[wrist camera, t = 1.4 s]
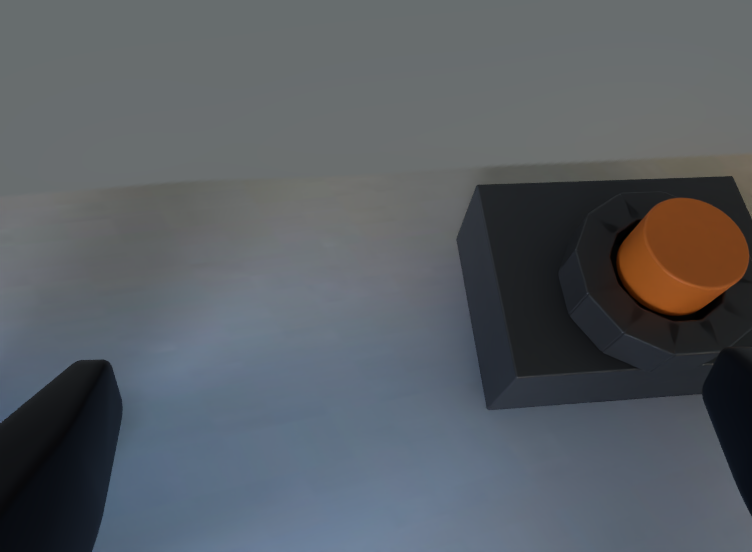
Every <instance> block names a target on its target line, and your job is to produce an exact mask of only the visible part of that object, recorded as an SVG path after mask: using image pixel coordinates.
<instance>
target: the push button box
mask: <svg viewBox="0 0 752 552" xmlns="http://www.w3.org/2000/svg"><path fill="white" fill-rule="evenodd" d="M672 198H692V199H696V200H700V201H703V202H706V203H708V204H710V205H712V206H714V207H716V208H718V209H719V210H721V211H722V212H724V213H725V214H726V215H727V216H729V217H730V218H731V219H732V220H733V221H734V222H735V224H736V225H737V226H738V227H739V229H740V230H741V232H742V233H743V235H744V237H745V239H746V242H747V245H748V249H749V263H748V267H747V270H746V272H745V274H744V275H743V277H742V278H741V279H740V280H739V281H738V282H737V283H736V284H734V285H733V286H732V287H730V288H729V289H727V290H726V291H725V292H723V293H722V294H721V295H719V296H718V297H717V298H715V299H714V300H713V301H711V302H710V303H708V304H707V305H706V306H704V307H703V308H702V309H700V310H699V311H697V312H695V313H692V314H689V315H684V316H669V315H664V314H660V313H657V312H654V311H652V310H650V309H648V308H646V307H645V306H643V305H641V304H640V303H639V302H637V301H636V300H635V299H634V298H633V297H632V296H631V295H630V294H629V293H628V292H627V290H626V289H625V287H624V286H623V284H622V282H621V280H620V278H619V275H618V272H617V266H616V258H617V252H618V249H619V247H620V245H621V244H622V242H623V241H624V240H625V239H626V238H627V236H628V235H629V234H630V233H631V232H632V231H633V230H634V228H635V227H636V226H637V225H638V224H639V223H640V221H641V220H642V219H643V218H644V217H645V216H646V214H647V213H648V212H649V211H650V210H651V209H652V208H653V207H654V206H655V205H657V204H658V203H660V202H663V201H665V200H668V199H672ZM457 244H458V250H459V255H460V261H461V267H462V272H463V278H464V283H465V289H466V294H467V300H468V306H469V311H470V317H471V322H472V328H473V333H474V339H475V345H476V350H477V356H478V361H479V367H480V372H481V378H482V384H483V389H484V395H485V400H486V406H487V409H488V410H495V409H508V408H521V407H534V406H547V405H561V404H574V403H587V402H600V401H613V400H627V399H640V398H653V397H666V396H679V395H693V394H702V388H703V384H704V382H705V380H706V378H707V376H708V374H709V372H710V370H711V368H712V366H713V364H714V362H715V360H716V358H717V356H718V354H719V353H720V351H722V350H723V349H724V348H727V347H752V219H751V216H750V214H749V212H748V210H747V208H746V205H745V203H744V201H743V199H742V196H741V194H740V192H739V190H738V187H737V185H736V183H735V181H734V178H733V177H732V176H727V177H697V178H668V179H638V180H609V181H579V182H550V183H520V184H491V185H477V186H476V188H475V191H474V194H473V196H472V199H471V202H470V204H469V207H468V210H467V212H466V215H465V218H464V220H463V223H462V226H461V228H460V231H459V234H458V236H457Z"/></svg>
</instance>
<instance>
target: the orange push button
mask: <svg viewBox="0 0 752 552" xmlns="http://www.w3.org/2000/svg"><path fill="white" fill-rule="evenodd" d="M748 263H749V249H748V245H747V242H746V239H745V237H744V235H743V233H742V232H741V230H740V229H739V227H738V226H737V225H736V224H735V222H734V221H733V220H732V219H731V218H730V217H729V216H727V215H726V214H725V213H724V212H722V211H721V210H719V209H718V208H716V207H714V206H712V205H710V204H708V203H706V202H703V201H700V200H696V199H692V198H672V199H668V200H665V201H663V202H660V203H658V204H657V205H655V206H654V207H653V208H652V209H651V210H650V211H649V212H648V213H647V214H646V216H645V217H644V218H643V219H642V220H641V221H640V223H639V224H638V225H637V226H636V227H635V228H634V230H633V231H632V232H631V233H630V234H629V235H628V236H627V238H626V239H625V240H624V241H623V242H622V244H621V245H620V247H619V249H618V252H617V258H616V266H617V272H618V275H619V278H620V280H621V282H622V284H623V286H624V287H625V289H626V290H627V292H628V293H629V294H630V295H631V296H632V297H633V298H634V299H635V300H636V301H637V302H639V303H640V304H641V305H643V306H645V307H646V308H648V309H650V310H652V311H654V312H657V313H660V314H664V315H669V316H684V315H689V314H692V313H695V312H697V311H699V310H700V309H702V308H703V307H704V306H706V305H707V304H708V303H710V302H711V301H713V300H714V299H715V298H717V297H718V296H719V295H721V294H722V293H723V292H725V291H726V290H727V289H729V288H730V287H732V286H733V285H734V284H736V283H737V282H738V281H739V280H740V279H741V278H742V277H743V275H744V274H745V272H746V270H747V267H748Z"/></svg>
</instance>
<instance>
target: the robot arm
mask: <svg viewBox="0 0 752 552" xmlns="http://www.w3.org/2000/svg"><path fill="white" fill-rule="evenodd" d="M702 396H703V401H704V404H705V406H706V409H707V411H708V414H709V416H710V419H711V421H712V424H713V427H714V429H715V432H716V434H717V437H718V439H719V442H720V444H721V447H722V450H723V452H724V455H725V457H726V460H727V462H728V465H729V468H730V470H731V473H732V475H733V478H734V480H735V482H736V485H737V487H738V489H739V492H740V494H741V496H742V498H743V500H744V502H745V504H746V506H747V508H748V510H749V512H750V514H751V516H752V347H727V348H724V349H723V350H722V351H720V353H719V354H718V356H717V358H716V360H715V362H714V364H713V366H712V368H711V370H710V372H709V374H708V376H707V378H706V380H705V382H704V384H703V388H702ZM122 411H123V407H122V399H121V396H120V392H119V389H118V385H117V382H116V379H115V375H114V372H113V368H112V366H111V364H110V363H109V362H108V361H106V360H80V361H77V362H75V363H73V364H72V365H71V366H69V367H68V368H67V369H66V370H64V371H63V372H62V373H61V374H60V375H58V376H57V377H56V378H55V379H54V380H52V381H51V382H50V383H49V384H47V385H46V386H45V387H44V388H43V389H41V390H40V391H39V392H38V393H37V394H35V395H34V396H33V397H32V398H31V399H29V400H28V401H27V402H26V403H24V404H23V405H22V406H21V407H20V408H18V409H17V410H16V411H15V412H14V413H12V414H11V415H10V416H9V417H8V418H6V419H5V420H4V421H3V422H1V423H0V552H92V550H93V547H94V544H95V540H96V537H97V534H98V530H99V527H100V523H101V520H102V516H103V511H104V507H105V502H106V497H107V492H108V487H109V481H110V476H111V471H112V466H113V461H114V456H115V450H116V445H117V440H118V435H119V430H120V425H121V419H122Z"/></svg>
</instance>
